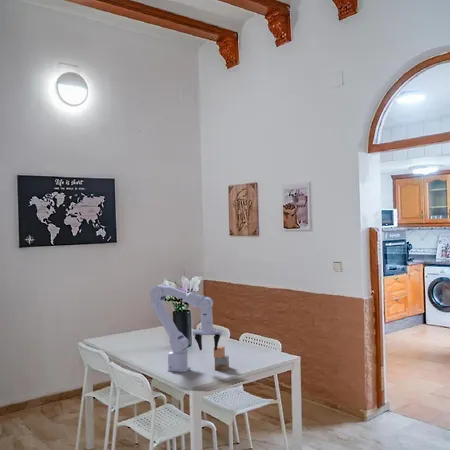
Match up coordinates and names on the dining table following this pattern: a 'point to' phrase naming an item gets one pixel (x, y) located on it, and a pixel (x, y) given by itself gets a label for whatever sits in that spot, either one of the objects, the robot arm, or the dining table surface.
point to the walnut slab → (222, 367)
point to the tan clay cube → (219, 352)
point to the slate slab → (222, 360)
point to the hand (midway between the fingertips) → (208, 349)
